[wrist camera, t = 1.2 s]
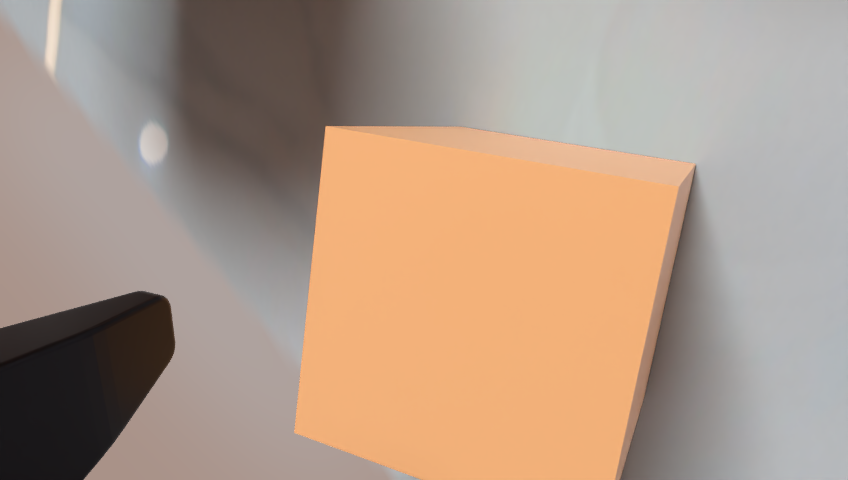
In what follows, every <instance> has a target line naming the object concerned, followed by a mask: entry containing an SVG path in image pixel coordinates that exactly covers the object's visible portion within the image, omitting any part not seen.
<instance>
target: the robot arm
mask: <svg viewBox="0 0 848 480" xmlns="http://www.w3.org/2000/svg"><path fill="white" fill-rule="evenodd" d="M174 350H175V338H174V329H173V321H172V313H171V306H170V303H169V301H168V299H167V298H165V297H164V296H162V295H158V294H153V293H149V292H145V291H137V292H133V293H129V294H126V295H122V296H118V297H114V298H111V299H107V300H103V301H99V302H96V303H92V304H89V305H85V306H81V307H77V308H74V309H70V310H66V311H63V312H59V313H55V314H51V315H48V316H44V317H40V318H37V319H33V320H29V321H25V322H22V323H18V324H14V325H11V326H7V327H3V328H0V480H84V478H85V477H86V476H87V475H88V473H89V472H90V471H91V470H92V469H93V468H94V467H95V465H96V464H97V463H98V462H99V460H100V459H101V458H102V457H103V456H104V454H105V453H106V452H107V451H108V449H109V448H110V447H111V446H112V444H113V443H114V442H115V440H116V439H117V437H118V436H119V435H120V433H121V432H122V431H123V429H124V428H125V426H126V425H127V423H128V422H129V420H130V419H131V418H132V416H133V414H134V413H135V412H136V410H137V409H138V407H139V406H140V404H141V403H142V401H143V400H144V398H145V397H146V396H147V394H148V393H149V391H150V390H151V388H152V387H153V385H154V384H155V382H156V381H157V379H158V378H159V377H160V375H161V374H162V372H163V371H164V369H165V368H166V366H167V365H168V363H169V362H170V360H171V358H172V356H173V354H174Z"/></svg>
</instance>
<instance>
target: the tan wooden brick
mask: <svg viewBox="0 0 848 480" xmlns="http://www.w3.org/2000/svg"><path fill="white" fill-rule="evenodd" d="M695 166H696V164H693V163H687V162H680V161H674V160H668V159H661V158H655V157H649V156H642V155H636V154H630V153H623V152H617V151H611V150H604V149H598V148H592V147H585V146H579V145H573V144H567V143H560V142H554V141H548V140H541V139H535V138H529V137H522V136H516V135H510V134H503V133H497V132H491V131H484V130H478V129H472V128H466V127H421V126H326V128H325V138H324V148H323V157H322V167H321V177H320V187H319V196H318V206H317V216H316V226H315V236H314V245H313V255H312V265H311V275H310V284H309V294H308V304H307V314H306V324H305V333H304V343H303V353H302V363H301V373H300V382H299V392H298V402H297V412H296V421H295V431H294V432H295V433H297V434H299V435H302V436H305V437H307V438H310V439H313V440H315V441H318V442H321V443H324V444H326V445H329V446H332V447H334V448H337V449H340V450H343V451H345V452H348V453H351V454H353V455H356V456H359V457H362V458H365V459H367V460H370V461H372V462H375V463H378V464H381V465H383V466H386V467H389V468H392V469H394V470H397V471H400V472H402V473H405V474H408V475H411V476H413V477H416V478H419V479H421V480H620V478H621V475H622V471H623V468H624V464H625V461H626V458H627V454H628V451H629V447H630V444H631V441H632V437H633V434H634V430H635V427H636V423H637V420H638V417H639V413H640V410H641V406H642V403H643V400H644V396H645V391H646V387H647V382H648V378H649V373H650V369H651V364H652V360H653V355H654V351H655V346H656V342H657V337H658V333H659V328H660V324H661V319H662V315H663V310H664V306H665V301H666V297H667V292H668V288H669V283H670V279H671V274H672V270H673V265H674V261H675V256H676V252H677V247H678V243H679V238H680V234H681V229H682V225H683V220H684V216H685V211H686V207H687V202H688V197H689V193H690V188H691V184H692V179H693V175H694V170H695Z"/></svg>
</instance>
